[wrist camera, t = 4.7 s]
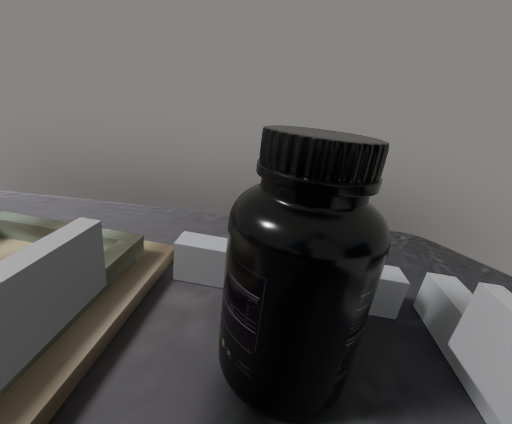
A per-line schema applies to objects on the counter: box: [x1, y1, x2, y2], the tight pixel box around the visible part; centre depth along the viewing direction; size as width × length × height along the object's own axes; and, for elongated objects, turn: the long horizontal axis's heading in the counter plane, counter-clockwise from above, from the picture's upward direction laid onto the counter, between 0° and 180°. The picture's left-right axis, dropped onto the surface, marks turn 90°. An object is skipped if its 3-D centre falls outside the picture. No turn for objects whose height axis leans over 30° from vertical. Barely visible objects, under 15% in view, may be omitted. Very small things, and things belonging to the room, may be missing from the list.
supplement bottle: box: [219, 126, 391, 420], centre depth 13 cm, size 7×7×12 cm
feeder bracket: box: [173, 231, 502, 424], centre depth 14 cm, size 20×14×3 cm
